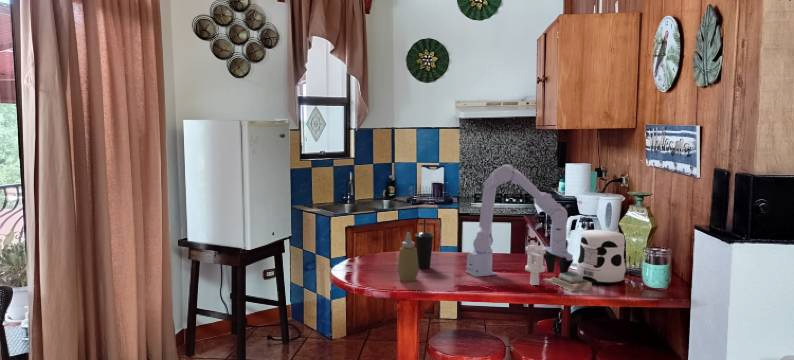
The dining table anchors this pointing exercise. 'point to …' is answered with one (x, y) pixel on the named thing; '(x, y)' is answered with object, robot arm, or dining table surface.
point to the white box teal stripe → (571, 277)
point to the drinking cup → (424, 248)
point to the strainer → (535, 262)
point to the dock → (572, 287)
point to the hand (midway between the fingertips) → (556, 274)
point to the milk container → (601, 256)
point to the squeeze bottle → (408, 260)
